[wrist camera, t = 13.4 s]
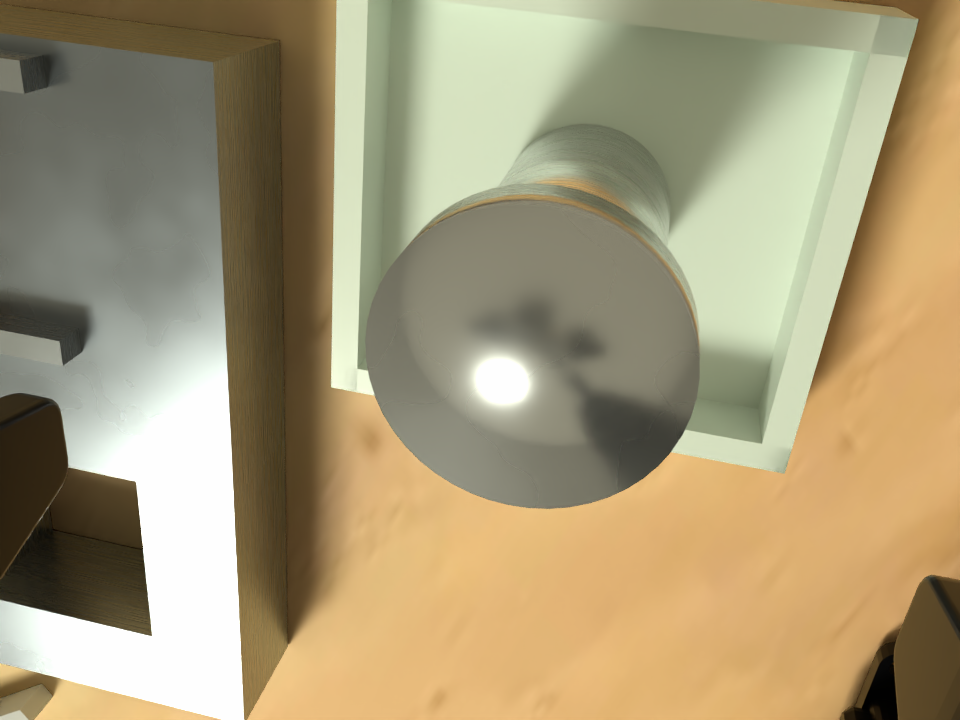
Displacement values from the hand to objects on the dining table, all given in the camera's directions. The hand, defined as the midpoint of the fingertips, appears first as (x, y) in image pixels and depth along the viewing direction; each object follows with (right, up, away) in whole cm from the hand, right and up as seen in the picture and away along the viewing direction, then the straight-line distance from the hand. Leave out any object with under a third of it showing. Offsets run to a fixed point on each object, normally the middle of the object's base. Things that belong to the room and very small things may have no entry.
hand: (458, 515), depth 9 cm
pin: (+2, +5, +10) cm, 11 cm away
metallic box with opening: (-10, +2, +15) cm, 18 cm away
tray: (+3, +5, +10) cm, 12 cm away
